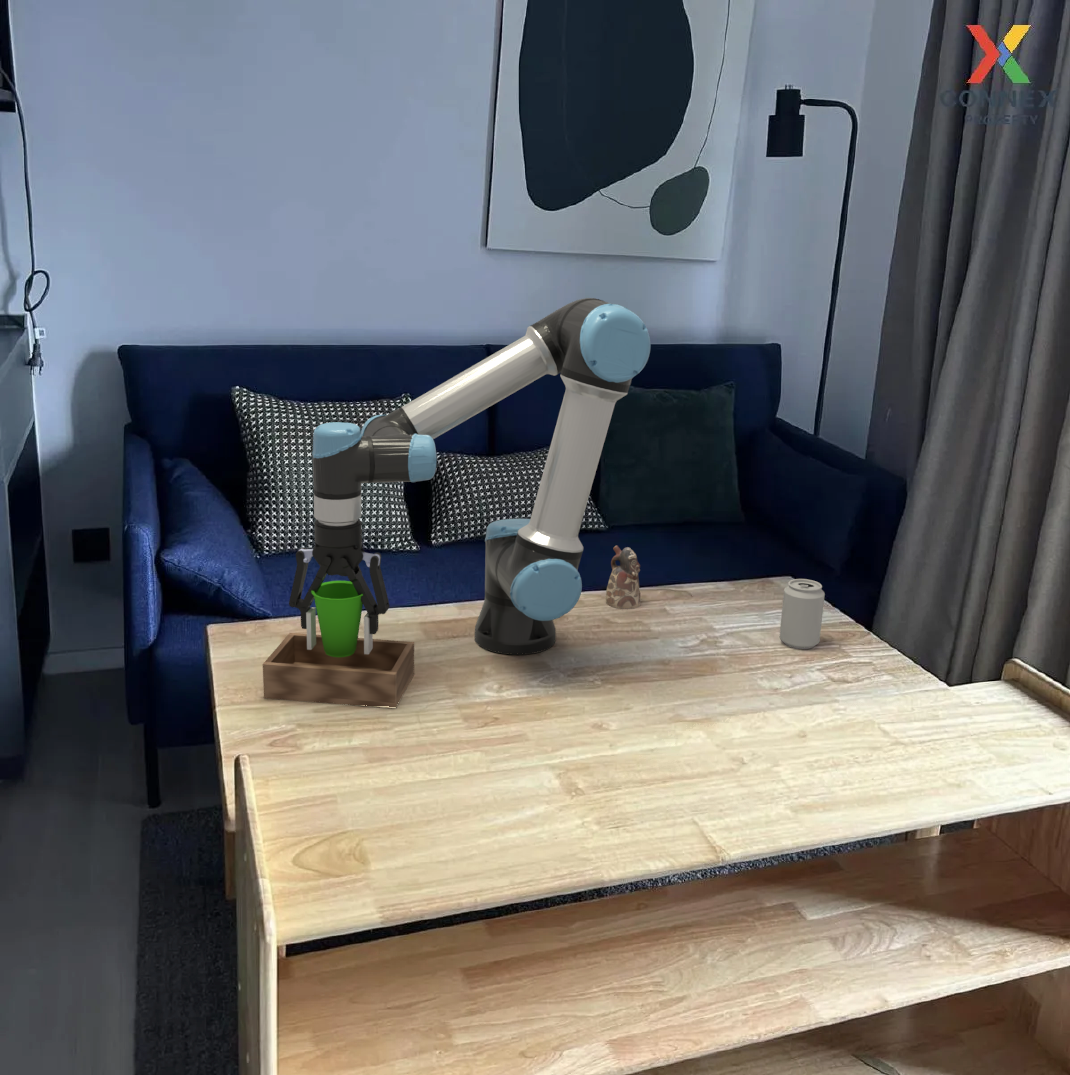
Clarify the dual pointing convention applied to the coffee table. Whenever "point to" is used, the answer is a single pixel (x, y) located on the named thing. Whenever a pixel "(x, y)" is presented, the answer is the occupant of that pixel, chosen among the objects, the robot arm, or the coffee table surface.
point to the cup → (338, 617)
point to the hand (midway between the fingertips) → (340, 648)
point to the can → (802, 613)
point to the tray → (339, 673)
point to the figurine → (624, 580)
